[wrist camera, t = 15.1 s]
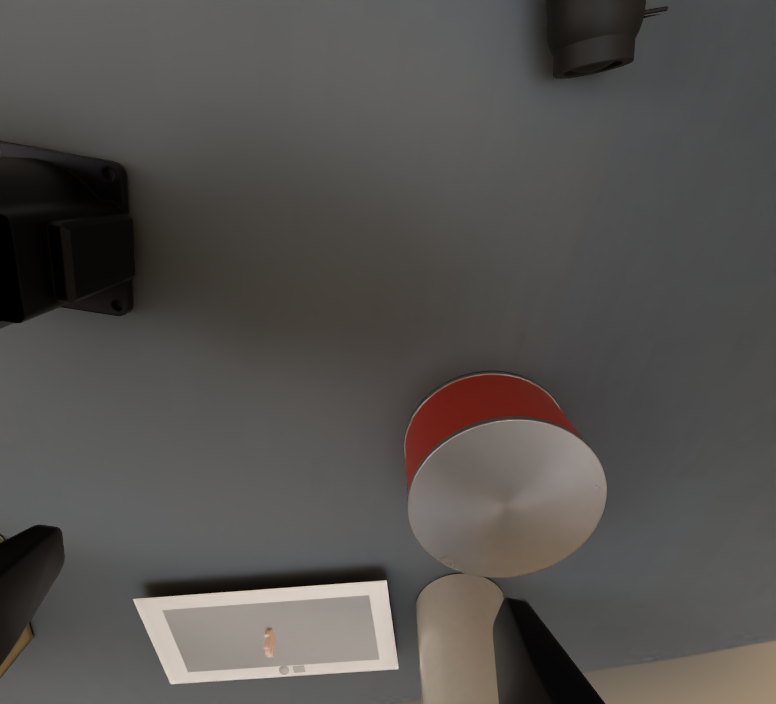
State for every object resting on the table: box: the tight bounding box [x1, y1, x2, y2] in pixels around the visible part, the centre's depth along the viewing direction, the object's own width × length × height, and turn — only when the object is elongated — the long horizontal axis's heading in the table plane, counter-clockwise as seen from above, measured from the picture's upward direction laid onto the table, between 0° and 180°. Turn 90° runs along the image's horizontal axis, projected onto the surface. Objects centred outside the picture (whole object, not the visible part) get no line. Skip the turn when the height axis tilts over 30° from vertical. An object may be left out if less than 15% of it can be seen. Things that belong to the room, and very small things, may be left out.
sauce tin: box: [404, 371, 607, 578], centre depth 21 cm, size 8×8×5 cm
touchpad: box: [133, 580, 399, 684], centre depth 27 cm, size 8×15×2 cm, turn 96°
